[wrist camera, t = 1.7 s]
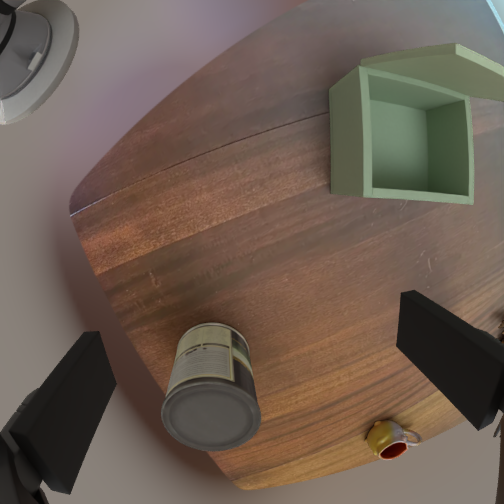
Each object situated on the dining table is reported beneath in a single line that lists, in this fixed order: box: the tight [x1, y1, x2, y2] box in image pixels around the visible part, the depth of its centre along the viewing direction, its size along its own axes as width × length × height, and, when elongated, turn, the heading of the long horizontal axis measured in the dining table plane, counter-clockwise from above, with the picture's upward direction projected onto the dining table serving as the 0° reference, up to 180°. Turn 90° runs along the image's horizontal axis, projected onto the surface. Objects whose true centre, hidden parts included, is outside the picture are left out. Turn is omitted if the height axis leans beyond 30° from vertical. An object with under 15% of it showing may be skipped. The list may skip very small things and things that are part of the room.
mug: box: [365, 420, 422, 460], centre depth 46 cm, size 12×7×7 cm, turn 74°
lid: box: [360, 43, 504, 102], centre depth 20 cm, size 15×16×1 cm
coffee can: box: [161, 323, 261, 451], centre depth 35 cm, size 10×10×14 cm
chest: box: [329, 65, 474, 205], centre depth 33 cm, size 14×16×10 cm
